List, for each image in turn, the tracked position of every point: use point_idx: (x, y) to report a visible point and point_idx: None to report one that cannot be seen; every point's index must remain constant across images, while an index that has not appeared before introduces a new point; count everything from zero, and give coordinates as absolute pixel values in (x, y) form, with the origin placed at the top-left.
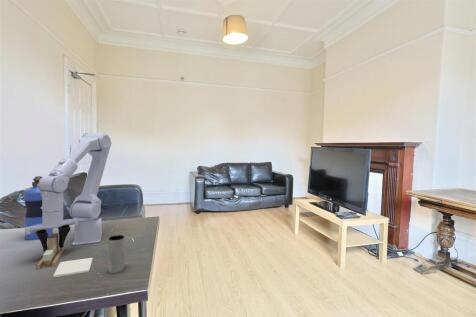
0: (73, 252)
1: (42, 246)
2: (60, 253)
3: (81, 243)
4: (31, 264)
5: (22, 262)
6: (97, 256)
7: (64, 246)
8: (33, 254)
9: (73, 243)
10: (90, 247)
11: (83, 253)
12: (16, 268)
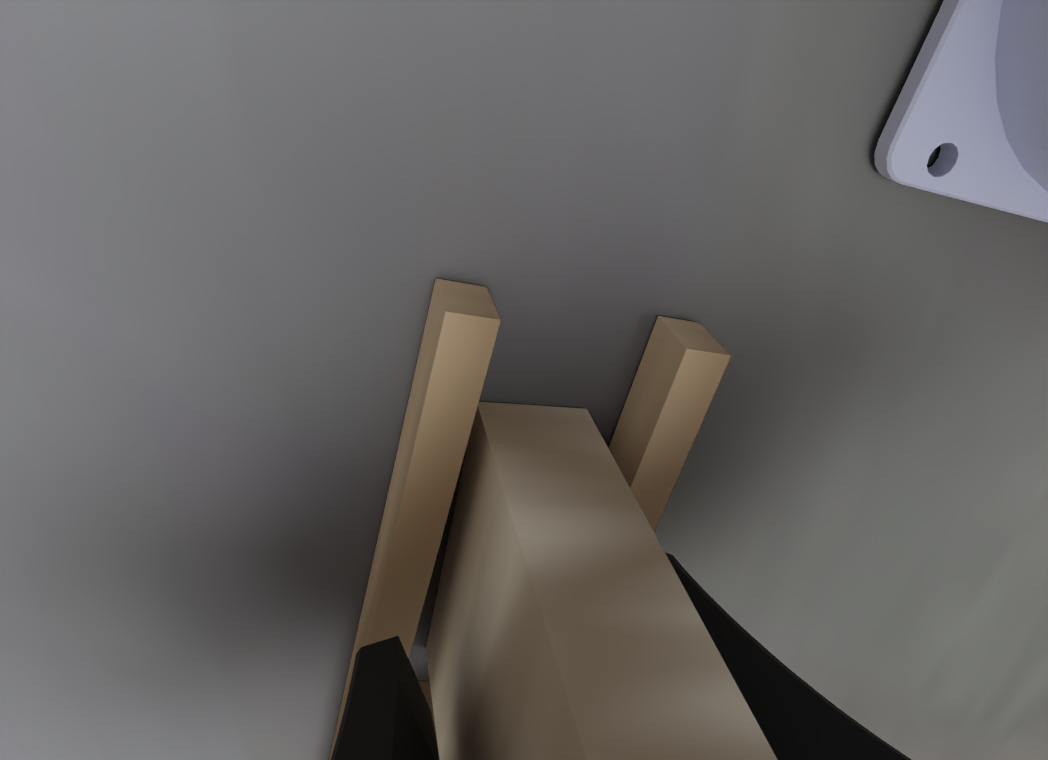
0: (768, 517)
1: (342, 736)
2: None
3: (1022, 215)
4: (216, 699)
5: (35, 597)
6: (914, 715)
7: (725, 365)
8: (124, 296)
9: (925, 129)
10: (1015, 431)
11: (850, 597)
12: (28, 752)
